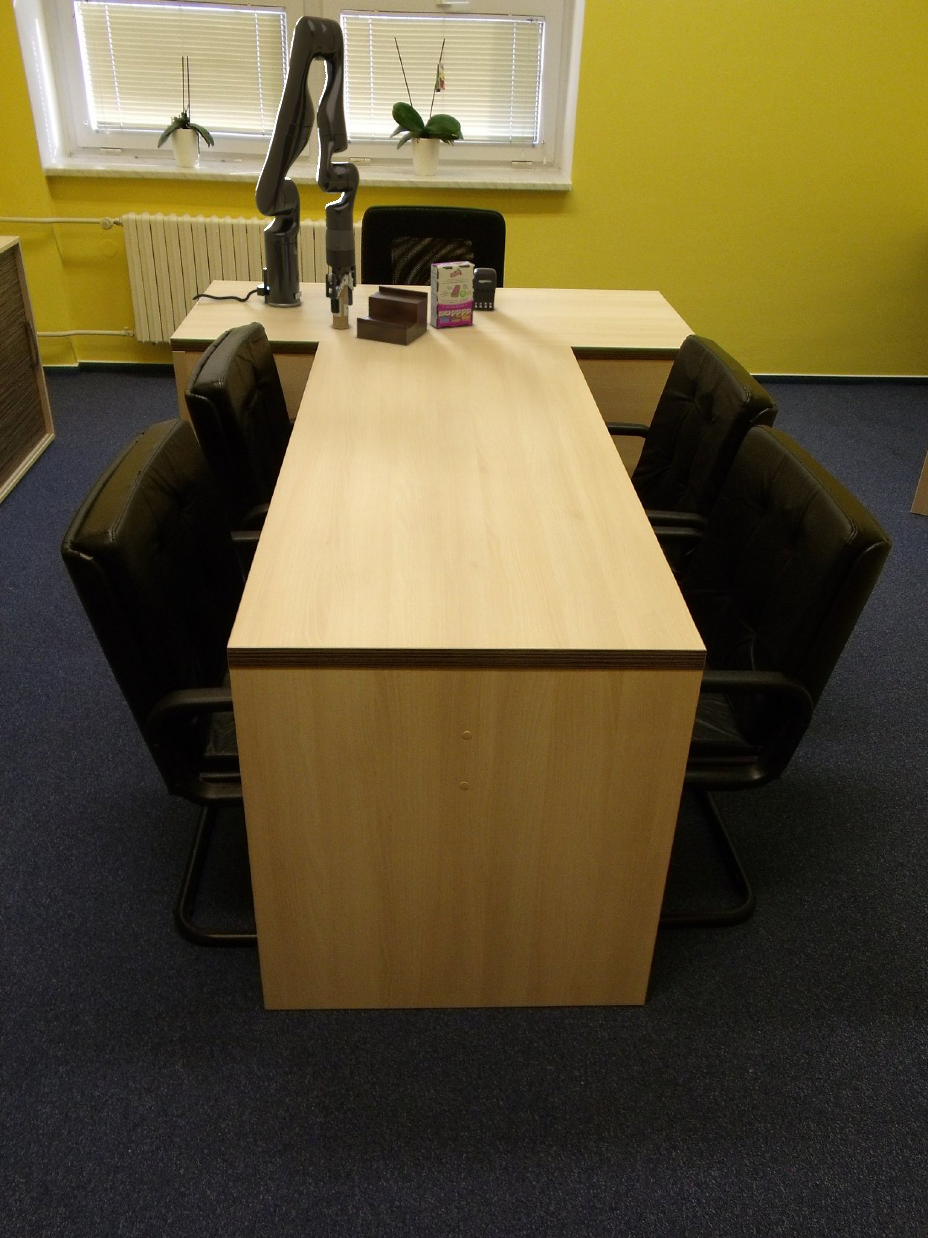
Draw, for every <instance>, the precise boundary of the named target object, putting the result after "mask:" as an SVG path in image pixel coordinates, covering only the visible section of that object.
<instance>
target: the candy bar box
mask: <svg viewBox="0 0 928 1238" xmlns="http://www.w3.org/2000/svg"><path fill="white" fill-rule="evenodd" d="M475 269H476V268H475V264H474V263H472V262H470V261H466V260H465V261H453V262H440V263H431V264H430V315H429V316H430V317H429V319H430V320H429V321H430V322H429V323H430V325H431V326H432V327H434V328H435V329H439V330H440V329H448V328H459V327H467V326H469V327H470V326H473V323H474V322H473V321H474V309H473V297H474V270H475Z"/></svg>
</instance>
